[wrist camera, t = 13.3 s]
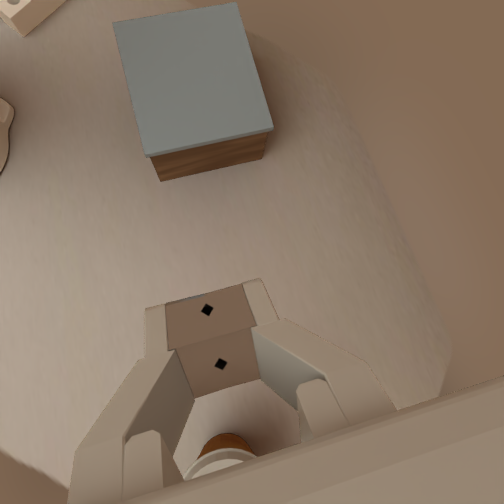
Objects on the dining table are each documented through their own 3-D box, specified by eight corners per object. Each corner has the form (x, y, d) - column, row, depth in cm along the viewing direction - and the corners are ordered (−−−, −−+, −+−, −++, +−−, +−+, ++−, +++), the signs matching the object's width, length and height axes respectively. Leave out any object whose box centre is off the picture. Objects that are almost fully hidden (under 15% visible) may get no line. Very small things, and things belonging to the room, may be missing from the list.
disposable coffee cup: (167, 463, 43) (147, 516, 31) (227, 401, 45) (229, 428, 33) (224, 526, 42) (226, 605, 30) (283, 461, 44) (306, 511, 32)
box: (261, 158, 51) (268, 128, 43) (160, 181, 49) (149, 154, 41) (231, 58, 53) (233, 12, 46) (134, 76, 52) (118, 32, 44)
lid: (272, 130, 43) (273, 126, 42) (146, 157, 41) (144, 154, 40) (235, 7, 45) (236, 2, 45) (114, 28, 43) (112, 22, 43)
